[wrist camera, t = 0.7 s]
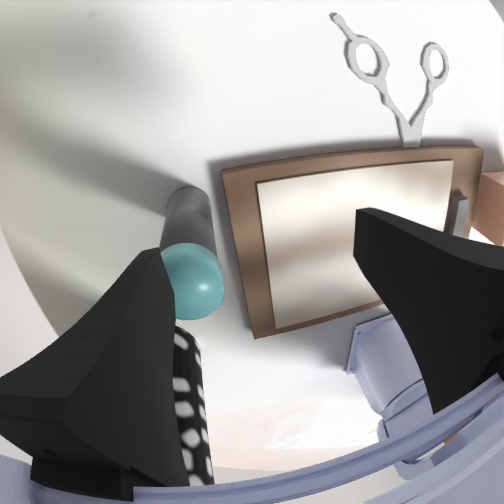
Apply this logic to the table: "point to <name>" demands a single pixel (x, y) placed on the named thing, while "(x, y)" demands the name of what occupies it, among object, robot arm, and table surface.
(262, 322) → the clipboard
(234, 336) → the table surface
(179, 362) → the white-spotted black cylinder
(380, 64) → the scissors
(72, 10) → the table surface
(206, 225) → the marker
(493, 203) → the pen cup
